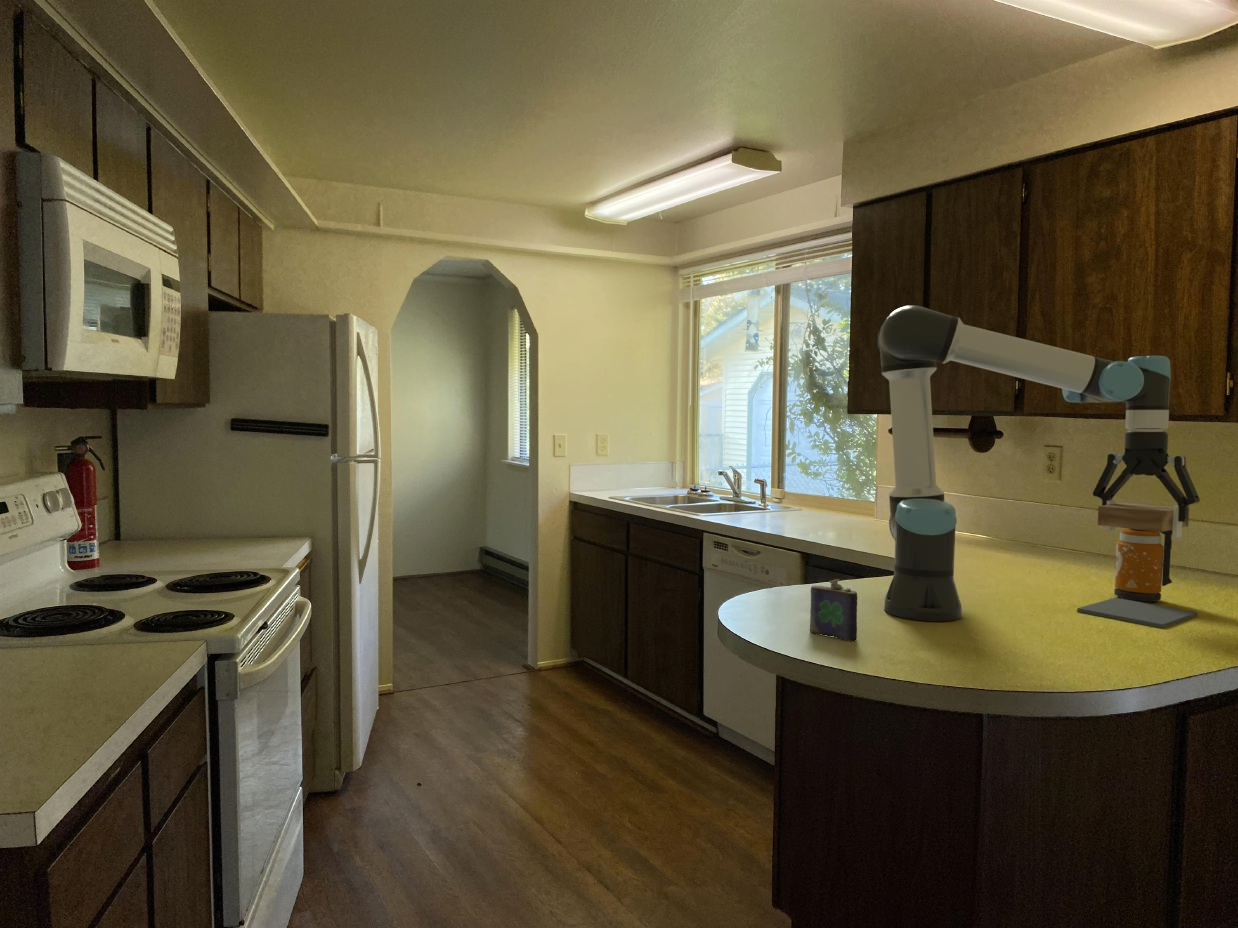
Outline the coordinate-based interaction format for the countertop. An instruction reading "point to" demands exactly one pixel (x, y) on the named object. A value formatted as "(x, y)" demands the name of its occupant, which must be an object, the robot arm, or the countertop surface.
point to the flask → (834, 611)
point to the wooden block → (1138, 516)
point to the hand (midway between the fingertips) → (1142, 533)
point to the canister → (1142, 564)
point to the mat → (1138, 612)
